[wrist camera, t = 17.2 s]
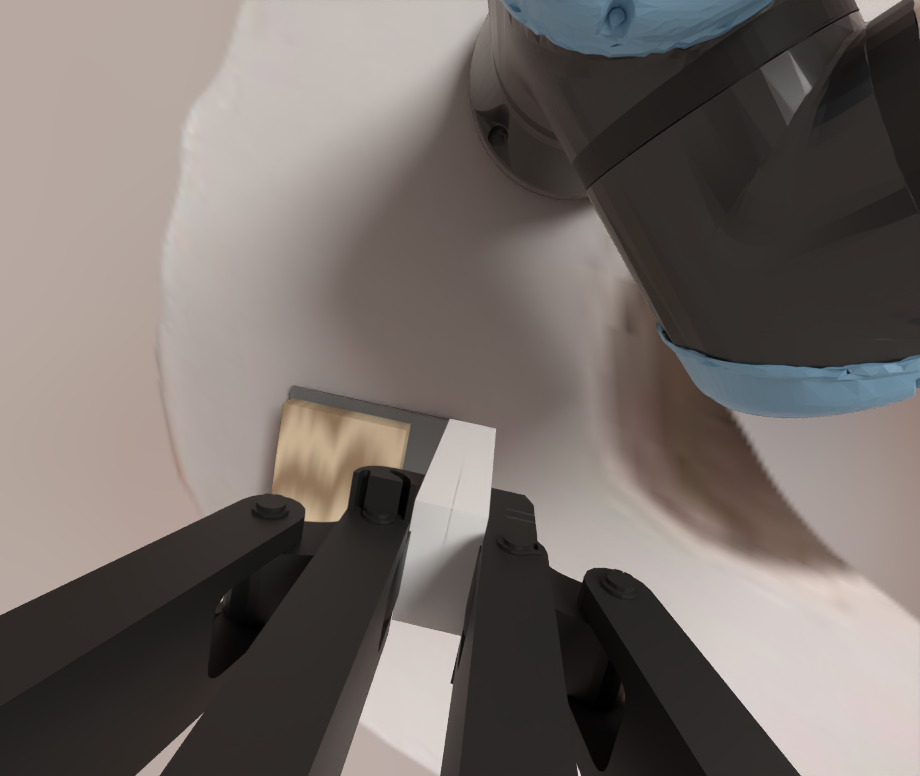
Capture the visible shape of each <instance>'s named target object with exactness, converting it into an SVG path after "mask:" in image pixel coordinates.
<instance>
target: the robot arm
mask: <svg viewBox="0 0 920 776" xmlns="http://www.w3.org/2000/svg"><path fill="white" fill-rule="evenodd" d="M488 8H489V14H488V15H487V17H486V19H485V21H484V23H483V25H482V27H481V30H480V32H479V35H478V38H477V41H476V44H475V47H474V52H473V56H472V61H471V68H470V99H471V106H472V111H473V116H474V120H475V124H476V128H477V131H478V133H479V136H480V138H481V141H482V143H483V145H484V147H485V149H486V150H487V152H488V154H489V155H490V157H491V158H492V159H493V161H494V162H495V163H496V165H497V166H498V167H499V168H500V169H501V170H502V171H503V172H504V173H505V174H506V175H507V176H508V177H510V178H511V179H512V180H513V181H515V182H516V183H518V184H519V185H521V186H522V187H524V188H526V189H528V190H530V191H532V192H535V193H537V194H540V195H543V196H547V197H551V198H557V199H585V198H589V199H590V201H591V203H592V204H593V206H594V208H595V210H596V212H597V213H598V215H599V217H600V219H601V221H602V222H603V224H604V226H605V228H606V230H607V231H608V233H609V235H610V237H611V239H612V241H613V242H614V244H615V246H616V248H617V250H618V251H619V253H620V255H621V257H622V259H623V260H624V262H625V264H626V266H627V268H628V269H629V271H630V273H631V275H632V277H633V279H634V280H635V282H636V284H637V286H638V288H639V289H640V291H641V293H642V295H643V297H644V298H645V300H646V302H647V304H648V306H649V307H650V309H651V311H652V313H653V315H654V317H655V318H656V320H657V323H656V328H657V331H658V333H659V335H660V337H661V338H662V340H663V341H664V342H665V343H666V344H667V345H668V346H669V347H670V348H671V349H672V350H673V351H674V352H675V353H676V355H677V356H678V358H679V360H680V361H681V363H682V364H683V366H684V368H685V369H686V371H687V373H688V374H689V376H690V377H691V379H692V381H693V382H694V383H695V385H696V386H697V387H698V389H699V390H700V391H702V392H703V393H704V394H705V395H707V396H709V397H711V398H712V399H713V400H715V401H716V402H717V403H720V404H722V405H723V406H725V407H727V408H729V409H732V410H735V411H739V412H743V413H747V414H752V415H757V416H765V417H776V418H808V417H824V416H833V415H841V414H847V413H854V412H860V411H865V410H870V409H875V408H879V407H882V406H886V405H890V404H893V403H897V402H901V401H904V400H907V399H910V398H912V397H914V395H915V393H916V388H920V0H902V1H900V2H899V3H897V4H896V5H894V6H893V7H891V8H890V9H888V10H887V11H885V12H884V13H882V14H881V15H879V16H878V17H876V18H875V19H873V20H872V21H869V22H864V20H863V18H862V16H861V14H860V12H859V9H858V7H857V5H856V2H855V0H488ZM495 436H496V428H491V427H486V426H482V425H477V424H473V423H468V422H463V421H459V420H454V419H450V420H449V422H448V425H447V427H446V429H445V432H444V434H443V436H442V439H441V441H440V443H439V446H438V448H437V450H436V453H435V455H434V457H433V460H432V462H431V464H430V467H429V469H428V471H427V474H426V475H425V474H420V473H416V472H411V471H407V470H402V469H398V468H392V467H386V466H365V467H360V468H358V469H356V470H355V471H353V477H352V483H351V489H350V495H349V501H348V507H347V510H346V511H345V512H344V514H343V515H342V517H341V518H340V520H339V521H335V522H311V521H304V520H305V508H304V506H303V505H302V504H301V503H300V502H298V501H296V500H294V499H292V498H288V497H284V496H283V495H279V494H275V495H273V494H264V495H257V496H252V497H248V498H245V499H242V500H240V501H238V502H236V503H234V504H232V505H230V506H228V507H226V508H224V509H221V510H219V511H217V512H215V513H213V514H211V515H209V516H207V517H205V518H203V519H201V520H199V521H196V522H194V523H192V524H190V525H188V526H186V527H184V528H182V529H180V530H178V531H176V532H174V533H171V534H169V535H167V536H165V537H163V538H161V539H159V540H157V541H155V542H153V543H150V544H148V545H147V546H144V547H142V548H140V549H138V550H136V551H134V552H132V553H130V554H127V555H125V556H124V557H121V558H119V559H117V560H115V561H113V562H111V563H109V564H107V565H104V566H102V567H100V568H98V569H96V570H94V571H92V572H90V573H88V574H86V575H84V576H82V577H79V578H77V579H75V580H73V581H71V582H69V583H67V584H65V585H63V586H61V587H59V588H56V589H54V590H52V591H50V592H48V593H46V594H44V595H42V596H40V597H38V598H36V599H34V600H31V601H29V602H27V603H25V604H23V605H21V606H19V607H17V608H15V609H13V610H11V611H8V612H6V613H5V614H2V615H0V776H135V775H136V774H137V773H138V772H140V771H141V770H142V769H143V768H144V767H145V766H146V765H147V764H148V763H149V762H150V761H151V760H153V759H154V758H155V757H156V756H157V755H158V754H159V753H160V752H161V751H162V750H163V749H164V748H166V747H167V746H168V745H169V744H170V743H171V742H172V741H173V740H174V739H175V738H176V737H178V736H179V735H180V734H181V733H182V732H183V731H184V730H185V729H186V728H187V727H188V726H189V725H190V724H191V723H193V722H194V721H195V720H196V719H197V718H198V717H199V716H200V715H201V714H202V713H203V715H202V716H201V718H200V719H199V720H198V722H197V723H196V725H195V726H194V727H193V729H192V730H191V732H190V733H189V735H188V736H187V737H186V739H185V740H184V742H183V743H182V744H181V746H180V747H179V749H178V750H177V752H176V753H175V754H174V756H173V757H172V759H171V760H170V762H169V763H168V764H167V766H166V767H165V769H164V770H163V772H162V773H161V775H160V776H340V775H341V772H342V769H343V766H344V763H345V760H346V757H347V754H348V751H349V748H350V745H351V742H352V739H353V736H354V734H355V731H356V727H357V725H358V722H359V719H360V716H361V713H362V710H363V707H364V704H365V701H366V698H367V695H368V692H369V689H370V686H371V683H372V680H373V677H374V674H375V671H376V668H377V665H378V662H379V659H380V656H381V654H382V651H383V648H384V645H385V642H386V639H387V636H388V631H389V626H390V621H391V616H392V612H393V616H392V620H396V621H401V622H405V623H409V624H413V625H417V626H422V627H426V628H430V629H434V630H439V631H443V632H447V633H451V634H455V635H460V636H461V640H460V644H459V648H458V653H457V657H456V662H455V666H454V670H453V675H452V679H451V684H453V690H452V697H451V704H450V711H449V718H448V725H447V732H446V739H445V746H444V753H443V760H442V767H441V775H440V776H578V772H577V766H578V768H579V771H580V773H581V776H801V775H800V774H799V773H798V772H797V770H796V769H795V768H794V767H793V766H792V764H791V763H790V762H789V761H788V759H787V758H786V757H785V756H784V754H783V753H782V752H781V751H780V749H779V748H778V747H777V746H776V745H775V743H774V742H773V741H772V740H771V738H770V737H769V736H768V735H767V733H766V732H765V731H764V730H763V728H762V727H761V726H760V725H759V724H758V722H757V721H756V720H755V719H754V717H753V716H752V715H751V714H750V712H749V711H748V710H747V709H746V707H745V706H744V705H743V704H742V703H741V701H740V700H739V699H738V698H737V696H736V695H735V694H734V693H733V691H732V690H731V689H730V688H729V686H728V685H727V684H726V683H725V682H724V680H723V679H722V678H721V677H720V675H719V674H718V673H717V672H716V670H715V669H714V668H713V667H712V665H711V664H710V663H709V662H708V661H707V659H706V658H705V657H704V656H703V654H702V653H701V652H700V651H699V649H698V648H697V647H696V646H695V644H694V643H693V642H692V641H691V640H690V638H689V637H688V636H687V635H686V633H685V632H684V631H683V630H682V628H681V627H680V626H679V625H678V623H677V622H676V621H675V620H674V619H673V617H672V616H671V615H670V614H669V612H668V611H667V610H666V609H665V607H664V606H663V605H662V604H661V602H660V601H659V600H658V599H657V598H656V596H655V595H654V594H653V593H652V591H651V590H650V589H649V588H648V587H646V586H645V585H644V584H643V583H642V582H640V581H639V580H637V579H635V578H634V577H633V576H632V575H630V574H628V573H626V572H624V573H623V571H620V570H617V569H614V570H612V569H608V568H593V569H591V570H588V571H587V572H586V574H585V576H584V579H583V582H582V583H581V582H579V581H576V580H574V579H572V578H569V577H567V576H565V575H563V574H561V573H559V572H557V571H556V570H554V569H552V568H551V567H550V566H549V561H548V554H547V552H546V550H545V548H544V547H543V546H542V545H541V544H540V543H539V542H538V541H537V532H536V524H535V516H534V505H533V504H532V503H531V502H530V501H529V500H528V498H527V497H526V496H525V495H521V494H516V493H512V492H507V491H503V490H498V489H494V488H491V484H492V472H493V460H494V448H495ZM223 596H224V597H223ZM222 598H223V601H222V602H220V601H221V599H222ZM393 609H394V611H393ZM576 763H577V764H576Z"/></svg>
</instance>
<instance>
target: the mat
mask: <svg viewBox="0 0 920 776" xmlns="http://www.w3.org/2000/svg"><path fill="white" fill-rule="evenodd" d="M292 398H296V399H300V400H305V401H310V402H314V403H319V404H323V405H328V406H332V407H337V408H341V409H346V410H351V411H355V412H360V413H364V414H369V415H373V416H378V417H382V418H387V419H392V420H396V421H401V422H405V423H410V424H411V427H410V433H409V438H408V443H407V449H406V454H405V459H404V464H403V470H407V471H411V472H416V473H420V474H425V475H426V474H427V471H428V469H429V467H430V464H431V462H432V460H433V457H434V455H435V453H436V450H437V448H438V446H439V443H440V441H441V439H442V436H443V434H444V432H445V429H446V427H447V425H448V422H449V420H448V419H444V418H439V417H435V416H430V415H425V414H421V413H416V412H412V411H407V410H403V409H398V408H393V407H389V406H384V405H380V404H375V403H371V402H366V401H361V400H357V399H352V398H348V397H343V396H338V395H334V394H329V393H325V392H320V391H316V390H311V389H306V388H302V387H297V386H292V387H291V390H290V397H289V400H290V399H292Z"/></svg>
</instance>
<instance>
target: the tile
mask: <svg viewBox="0 0 920 776" xmlns="http://www.w3.org/2000/svg"><path fill="white" fill-rule="evenodd" d="M410 427H411V424H410V423H405V422H401V421H396V420H392V419H387V418H382V417H378V416H373V415H369V414H364V413H360V412H355V411H351V410H346V409H341V408H337V407H332V406H328V405H323V404H319V403H314V402H310V401H305V400H300V399H296V398H292V399H290V400H289V401H287V402H285V403H283V410H282V418H281V425H280V432H279V440H278V447H277V455H276V462H275V469H274V477H273V484H272V491H271V494H273V495H275V494H279V495H283V496H284V497H288V498H292V499H294V500H296V501H298V502H300V503H301V504H302V505H303V506H304V508H305V520H304V521H311V522H335V521H339V520H340V518H341V517H342V515H343V514H344V512H345V511H346V510H347V507H348V501H349V495H350V489H351V483H352V477H353V471H355V470H356V469H358V468H360V467H365V466H386V467H392V468H398V469H402V470H403V464H404V459H405V454H406V449H407V443H408V438H409V433H410Z"/></svg>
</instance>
